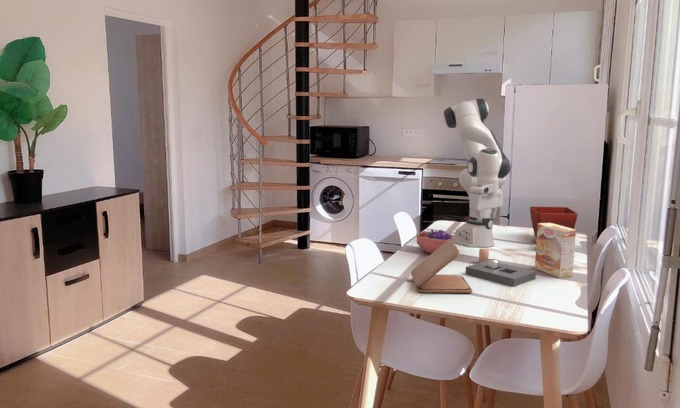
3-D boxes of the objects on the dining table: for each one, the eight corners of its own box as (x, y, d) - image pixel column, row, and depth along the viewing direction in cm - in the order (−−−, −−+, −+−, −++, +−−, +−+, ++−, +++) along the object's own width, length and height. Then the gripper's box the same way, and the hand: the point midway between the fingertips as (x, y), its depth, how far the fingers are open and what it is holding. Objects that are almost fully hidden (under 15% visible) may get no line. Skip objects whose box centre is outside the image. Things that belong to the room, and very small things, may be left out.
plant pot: (535, 245, 275) (537, 212, 273) (527, 237, 294) (529, 206, 291) (575, 247, 273) (578, 213, 270) (565, 238, 292) (567, 207, 289)
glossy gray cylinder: (485, 274, 226) (486, 259, 225) (491, 272, 229) (491, 258, 228) (494, 276, 223) (494, 262, 222) (499, 274, 226) (500, 260, 225)
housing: (465, 273, 226) (465, 266, 226) (488, 267, 237) (488, 260, 236) (513, 286, 210) (514, 279, 209) (535, 278, 220) (536, 271, 220)
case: (410, 277, 221) (411, 238, 219) (463, 278, 221) (464, 239, 218) (415, 294, 201) (416, 251, 198) (473, 295, 200) (475, 252, 198)
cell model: (433, 246, 274) (434, 223, 272) (462, 254, 257) (463, 230, 255) (406, 250, 265) (407, 227, 263) (435, 259, 248) (436, 235, 246)
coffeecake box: (533, 268, 235) (536, 223, 232) (547, 266, 238) (550, 222, 234) (558, 278, 221) (562, 230, 218) (573, 276, 224) (576, 229, 221)
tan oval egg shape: (476, 262, 243) (477, 249, 242) (482, 261, 246) (482, 248, 245) (484, 264, 240) (485, 251, 239) (489, 263, 243) (490, 249, 242)
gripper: (494, 184, 247) (493, 215, 249) (467, 188, 233) (466, 220, 235) (507, 186, 242) (505, 217, 244) (480, 190, 229) (478, 223, 231)
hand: (486, 219), depth 240 cm, fingers open, 8 cm apart
